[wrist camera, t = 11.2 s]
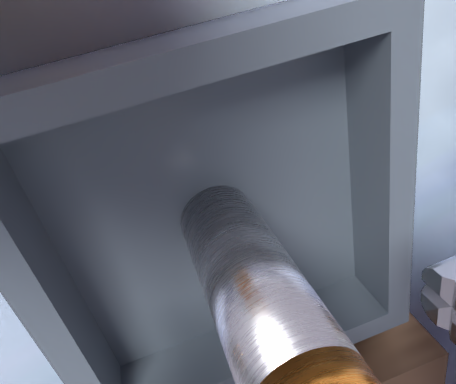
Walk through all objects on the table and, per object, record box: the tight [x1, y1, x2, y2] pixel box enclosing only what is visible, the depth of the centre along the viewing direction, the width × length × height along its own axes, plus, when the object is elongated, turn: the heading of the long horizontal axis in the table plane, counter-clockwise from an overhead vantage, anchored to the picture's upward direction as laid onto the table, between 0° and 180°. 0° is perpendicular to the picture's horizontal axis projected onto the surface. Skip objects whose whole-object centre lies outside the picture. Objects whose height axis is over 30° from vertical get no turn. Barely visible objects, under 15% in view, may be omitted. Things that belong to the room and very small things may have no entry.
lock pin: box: [181, 185, 381, 384], centre depth 11 cm, size 3×3×9 cm
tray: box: [0, 0, 425, 384], centre depth 14 cm, size 13×13×3 cm
